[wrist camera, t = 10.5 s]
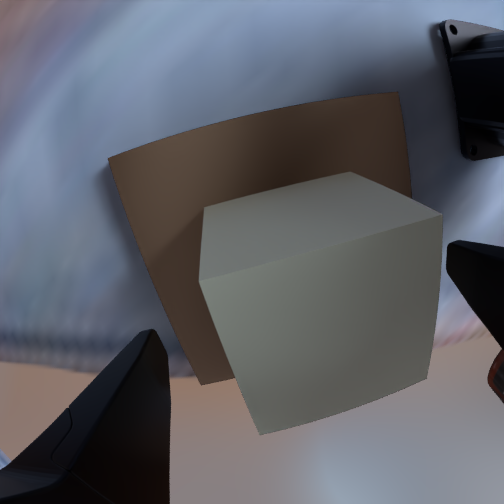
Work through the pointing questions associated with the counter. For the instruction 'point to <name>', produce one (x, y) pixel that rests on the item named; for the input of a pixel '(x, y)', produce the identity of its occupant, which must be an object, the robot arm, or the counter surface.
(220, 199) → the brown square tile
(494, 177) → the counter surface
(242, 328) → the cube
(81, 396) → the robot arm
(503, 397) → the supplement bottle
